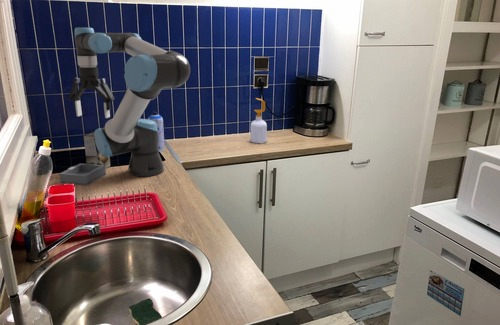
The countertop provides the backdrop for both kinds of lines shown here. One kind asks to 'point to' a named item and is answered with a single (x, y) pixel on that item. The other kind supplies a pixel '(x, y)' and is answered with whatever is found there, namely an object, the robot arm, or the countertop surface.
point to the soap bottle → (259, 127)
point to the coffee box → (94, 152)
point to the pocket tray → (83, 174)
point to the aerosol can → (159, 129)
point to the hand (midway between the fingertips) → (93, 116)
